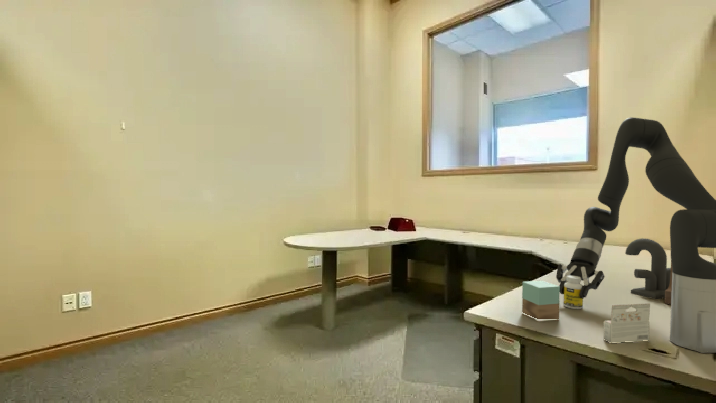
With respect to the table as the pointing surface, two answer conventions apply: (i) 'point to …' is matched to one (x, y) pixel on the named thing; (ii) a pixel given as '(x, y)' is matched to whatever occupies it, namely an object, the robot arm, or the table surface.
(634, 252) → the faucet
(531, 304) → the tower bottom block
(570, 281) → the supplement bottle
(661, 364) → the table surface
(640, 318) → the ink cartridge box
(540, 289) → the tower top block
